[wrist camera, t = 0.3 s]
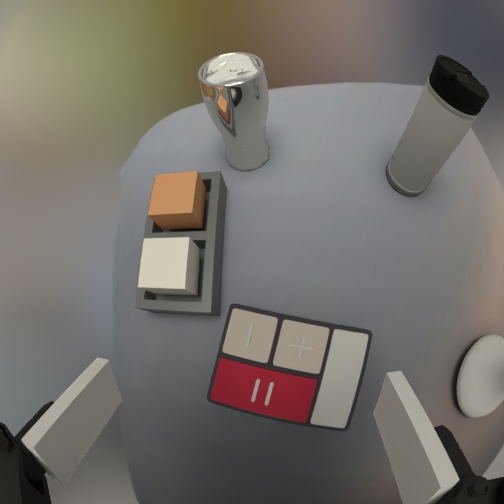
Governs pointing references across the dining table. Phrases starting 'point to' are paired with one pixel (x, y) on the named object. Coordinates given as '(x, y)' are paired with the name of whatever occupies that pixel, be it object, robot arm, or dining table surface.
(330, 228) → the dining table surface
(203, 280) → the key housing
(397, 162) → the travel mug
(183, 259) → the cream key
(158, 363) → the dining table surface
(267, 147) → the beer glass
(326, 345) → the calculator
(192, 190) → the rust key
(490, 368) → the flower in vase
